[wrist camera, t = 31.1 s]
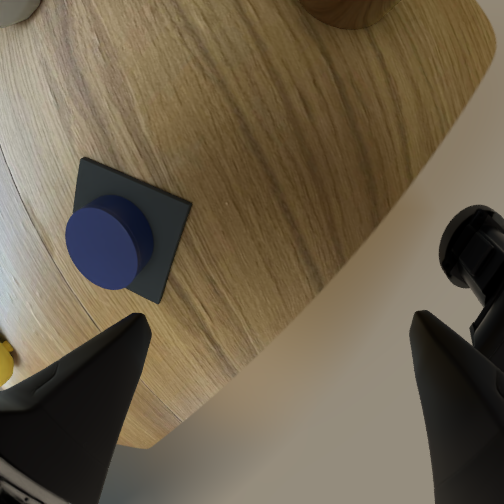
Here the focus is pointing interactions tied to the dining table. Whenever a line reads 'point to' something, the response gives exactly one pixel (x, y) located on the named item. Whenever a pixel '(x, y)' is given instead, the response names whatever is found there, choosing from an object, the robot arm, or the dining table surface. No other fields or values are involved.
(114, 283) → the jar lid
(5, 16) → the salt shaker
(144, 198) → the mat
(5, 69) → the dining table surface
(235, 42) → the dining table surface
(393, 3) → the jam jar
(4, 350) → the teapot
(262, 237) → the dining table surface
